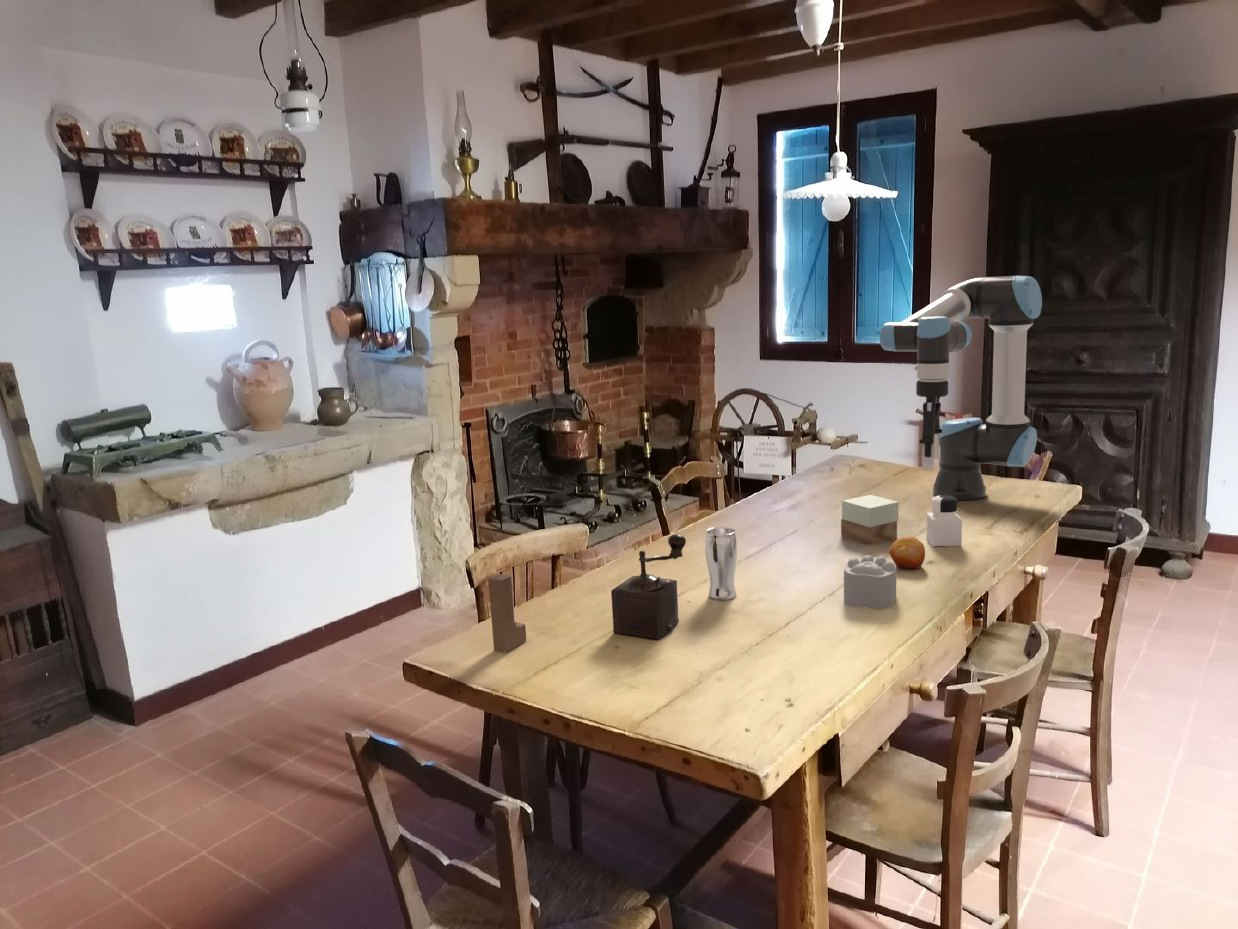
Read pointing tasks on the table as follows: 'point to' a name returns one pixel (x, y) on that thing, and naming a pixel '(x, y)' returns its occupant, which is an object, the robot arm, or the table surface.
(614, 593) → the coffee grinder
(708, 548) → the beer glass
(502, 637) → the wooden block
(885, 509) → the sage slab
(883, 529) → the walnut slab
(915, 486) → the table surface
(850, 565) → the lumpy-topped squat cylinder
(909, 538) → the fruit
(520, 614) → the table surface
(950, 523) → the medicine bottle
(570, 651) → the table surface
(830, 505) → the table surface
